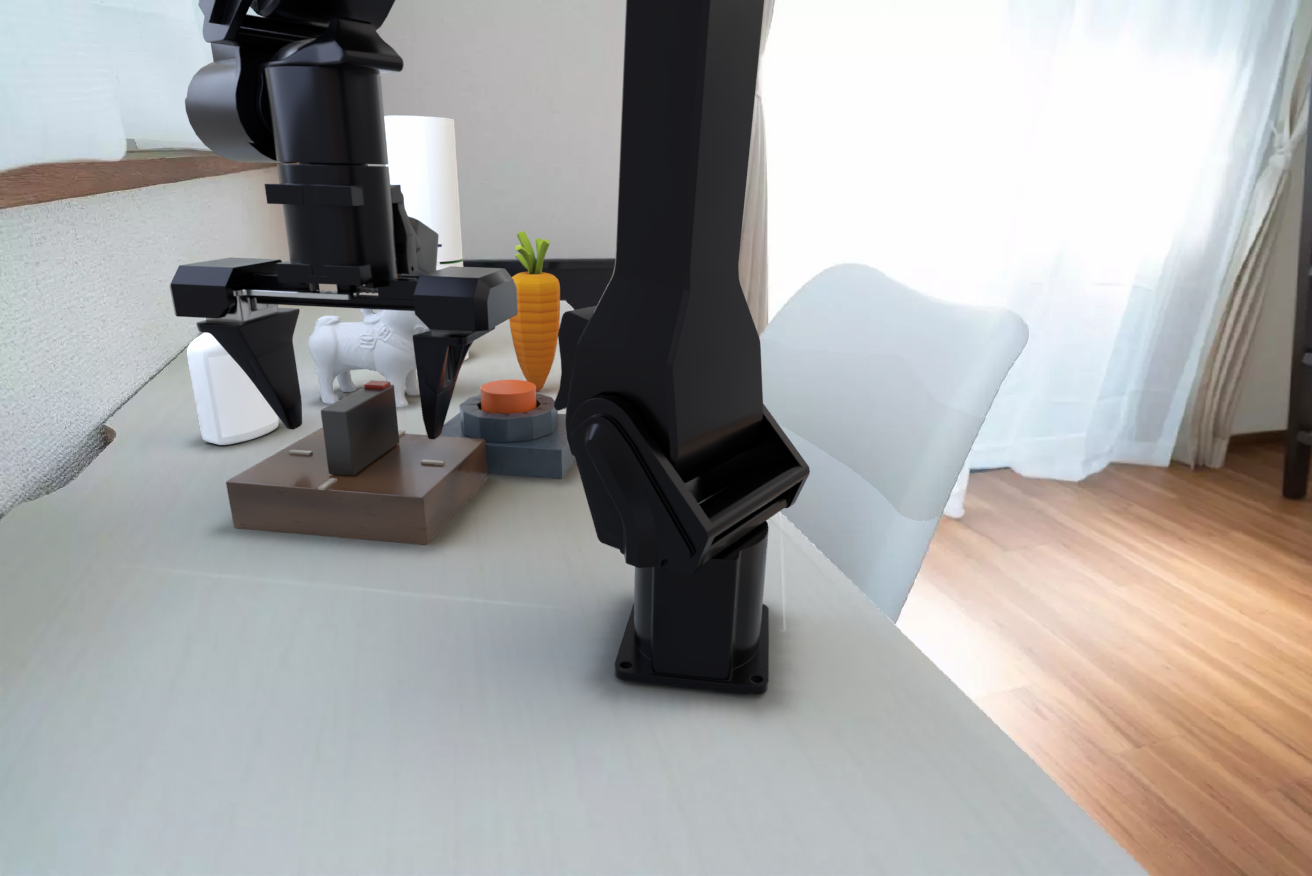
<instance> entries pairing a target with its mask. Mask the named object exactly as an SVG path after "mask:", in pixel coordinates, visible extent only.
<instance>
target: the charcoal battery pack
mask: <svg viewBox="0 0 1312 876" xmlns="http://www.w3.org/2000/svg"><path fill="white" fill-rule="evenodd" d="M397 412H398V411H397V407H396V401H395V391H394V385H391V384H390V382H387V380H386V381H385V380H370V381H368V382H366V383H364V384H363V387H362V388H360V389H358V390H355V391H353V392H352V393H350V394H349V395H346V396H344V397H343V398H341V399H339V401H337V402H335V403H331V404H330V405H328V406H326V407H324V408H321V409H320V417H321V424H322V428H323V433H324V441H325V448H326V456H327V464H328V471H329V474H336V475H349V476H354V475H355V474H357V473H358V472H359V471H361V470H362V469H364V468H365V467H366V466H368V465H369V464H370V463H372V462H373V461H375V460H376V459H377V458H379V457H380V456H381V455H383V454H384V453H386V452H387V451H388V450H390V449H391V448H392V447H394V446H395V445H397V444H398V443H399V433H398V432H399V424H398V413H397Z"/></svg>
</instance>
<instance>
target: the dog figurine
mask: <svg viewBox="0 0 1312 876" xmlns="http://www.w3.org/2000/svg"><path fill="white" fill-rule="evenodd" d="M375 310H376V312H374V309H360V314H361V316H362V320H361V321H343V320H342V318H341V317H339V315H322V316H320V317H319V318H318V319H317V320H316V321H315V323H314V329H313V332H312V333H311V335H310V336H309V338H308V343H307V348H308V352H309V354H310V356H311V358H312V360H313V362H314V364H315V366H316V367H315V371H314V373H315V375H316V376H317V380H318V384H319V385H318V386H319V391H320V396H321V400H322V403H323V404H333V403H335V402H337V401H339V400H340V398H339V397H338V395H336V393H335V392H334V388H333V387H334V384H333V383H334V380H335V379H337V382H338V386H339V388H340V390H341V392H343V393H351V392H352V393H353V392H356V391H357V387H356V385H355V383H354V382H353V380H352V375H351V371H358V370H369V371H372V372H377V373H378V374H379V375H381V376H382V377H384V379H386V381H387V382H390V384H391V385H394V391H395V401H396V408H403V407H407V406H409V402H408V400H407V398H406V397H405V394H406V395H407V396H420V392H419V384H418V378H417V369H416V361H415V353H414V345H413V335H415V334H417V333H419V332H421V331H423V330H426V329H428V327H427V326H426V325H425V324H424V323H423V322H422V321H421V320H420V319H419V318H418V317H417V316H416V315H415V311H401V310H380V309H375Z"/></svg>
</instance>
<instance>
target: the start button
mask: <svg viewBox="0 0 1312 876" xmlns="http://www.w3.org/2000/svg"><path fill="white" fill-rule="evenodd" d="M479 389H480V391H479V392H480V395H481V410H482V411H486V412H489V413H502V414H511V413H522V412H527V411H530V410H534V409H536V408H537V407H536V393H537V392H536V386H535V384H533V383H531V382H528V381H527V380H523V379H498V380H493V381H489V382H485V383H484V384H482V385H481V386H480V388H479Z"/></svg>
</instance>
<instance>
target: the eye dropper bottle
mask: <svg viewBox="0 0 1312 876" xmlns="http://www.w3.org/2000/svg"><path fill="white" fill-rule="evenodd" d="M203 319H204V320H206V319H205V318H203ZM186 356H187V362H188V369H189V374H190V381H191V386H192V392H193V397H194V402H195V409H196V413H197V418H198V424H199V429H200V436H201V439H202V440H203V441H204V442H206V443H210V444H215V445H219V446H227V445H228V446H229V445H233V444H238V443H239V444H240V443H243V442H247V441H251V440H254V439H257V438H260V437H262V436H263V437H264V436H265V435H267V434H270V433H271V432H273V431H274V430H276V429H277V428H278V426H279V424H280V419H279V417H278V416H277V414H276V413H275V412H274V410H273V409H272V408H271V406H270V405H269V404H268V402H267V401H266V400H265V398H264V397H263V396H262V394H261V393H260V392H259V390H258V389H257V387H256V386H255V385H254V383H253V382H252V381H251V380H250V378H249V377H248V376H247V374H246V373H245V372H244V371H243V370H242V368H241V367H240V366H239V365H238V364H237V363H236V362H235V360H234V359H233V358H232V357H231V356H230V355H229V354H228V353H227V351H226V350H225V349H224V348H223V347H222V346H221V345H220V344H219V342H218V341H217V340H216V339H215V338H214V337H213V336H212V335H211V334H210V333H204V332H202V333H201V334H199V335H198V336H197V337H195V338H194V339H192V341H190V343H189V345H188V346H187V349H186Z"/></svg>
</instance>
